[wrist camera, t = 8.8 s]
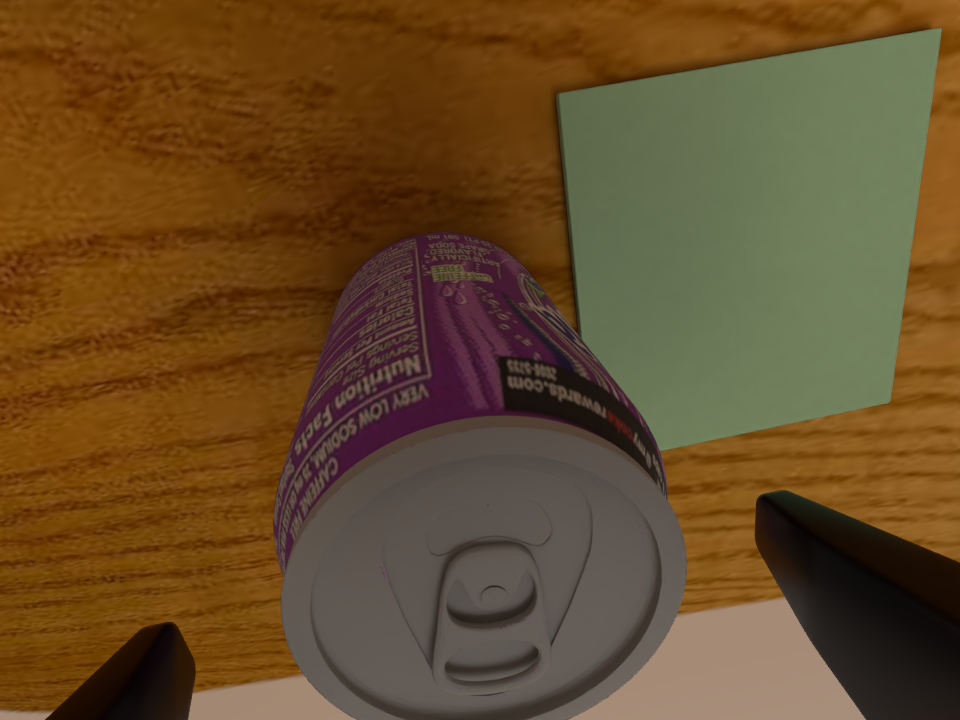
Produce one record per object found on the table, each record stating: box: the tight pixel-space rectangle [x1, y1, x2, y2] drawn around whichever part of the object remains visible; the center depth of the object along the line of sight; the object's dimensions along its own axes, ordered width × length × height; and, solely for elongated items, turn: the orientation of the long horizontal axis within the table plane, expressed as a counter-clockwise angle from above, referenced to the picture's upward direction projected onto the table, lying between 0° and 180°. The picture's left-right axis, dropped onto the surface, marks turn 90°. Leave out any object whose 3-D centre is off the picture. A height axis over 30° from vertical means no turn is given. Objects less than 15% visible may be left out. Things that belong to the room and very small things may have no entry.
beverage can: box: [273, 232, 687, 720], centre depth 14 cm, size 7×7×12 cm
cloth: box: [556, 28, 942, 451], centre depth 20 cm, size 13×12×1 cm
